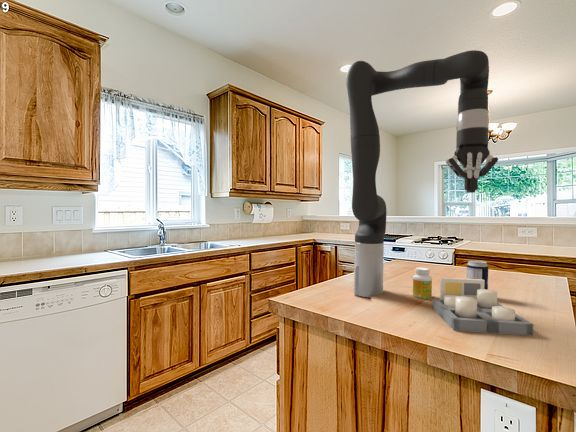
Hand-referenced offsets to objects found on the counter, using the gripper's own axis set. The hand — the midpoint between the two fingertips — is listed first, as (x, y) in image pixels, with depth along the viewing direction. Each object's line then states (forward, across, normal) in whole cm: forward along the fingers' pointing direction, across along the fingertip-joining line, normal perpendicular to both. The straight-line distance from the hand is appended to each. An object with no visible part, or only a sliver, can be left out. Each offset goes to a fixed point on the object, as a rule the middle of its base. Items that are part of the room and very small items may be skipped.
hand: (470, 192), depth 84 cm
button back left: (+32, -6, -6) cm, 33 cm away
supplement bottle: (+33, -10, +9) cm, 36 cm away
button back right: (+30, +2, -6) cm, 30 cm away
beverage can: (+33, +7, +12) cm, 36 cm away
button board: (+33, -2, -10) cm, 35 cm away
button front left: (+30, -6, -14) cm, 33 cm away
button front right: (+32, +2, -14) cm, 35 cm away
